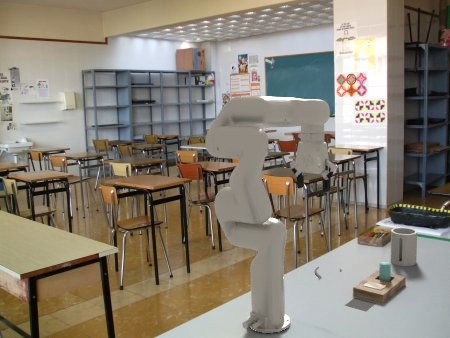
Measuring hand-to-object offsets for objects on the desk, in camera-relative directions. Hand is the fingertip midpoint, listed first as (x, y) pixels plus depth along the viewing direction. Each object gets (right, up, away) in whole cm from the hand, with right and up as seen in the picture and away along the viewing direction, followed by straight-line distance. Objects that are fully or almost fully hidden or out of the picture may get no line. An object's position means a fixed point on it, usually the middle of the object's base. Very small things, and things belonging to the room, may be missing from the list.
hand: (313, 189), depth 166 cm
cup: (+38, -28, +24) cm, 53 cm away
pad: (+13, -35, -12) cm, 39 cm away
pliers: (+7, -32, +11) cm, 35 cm away
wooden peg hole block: (+22, -33, -1) cm, 40 cm away
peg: (+24, -33, +2) cm, 41 cm away
